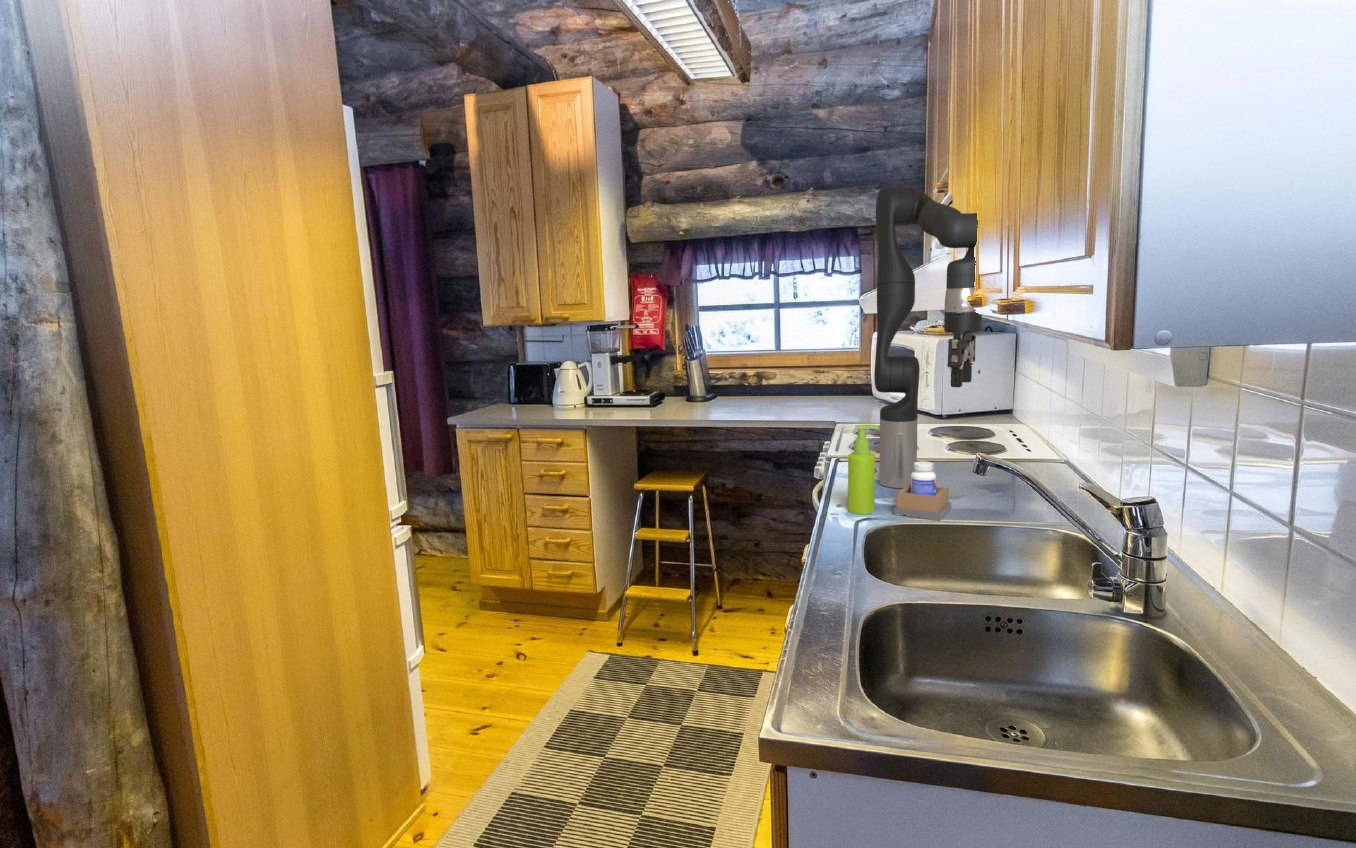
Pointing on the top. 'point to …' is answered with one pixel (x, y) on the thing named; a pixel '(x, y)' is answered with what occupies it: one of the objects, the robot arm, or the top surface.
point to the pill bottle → (923, 479)
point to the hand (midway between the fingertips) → (961, 384)
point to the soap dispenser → (861, 474)
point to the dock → (923, 503)
